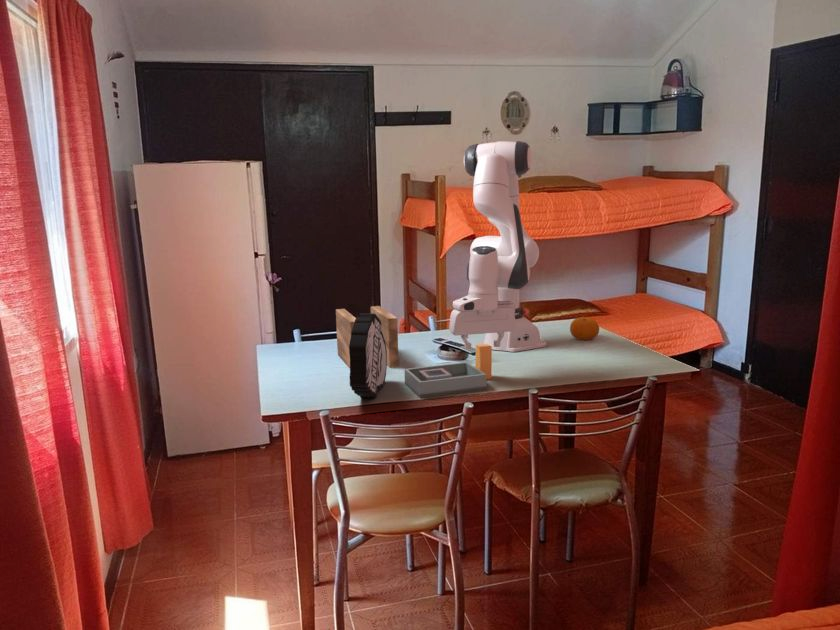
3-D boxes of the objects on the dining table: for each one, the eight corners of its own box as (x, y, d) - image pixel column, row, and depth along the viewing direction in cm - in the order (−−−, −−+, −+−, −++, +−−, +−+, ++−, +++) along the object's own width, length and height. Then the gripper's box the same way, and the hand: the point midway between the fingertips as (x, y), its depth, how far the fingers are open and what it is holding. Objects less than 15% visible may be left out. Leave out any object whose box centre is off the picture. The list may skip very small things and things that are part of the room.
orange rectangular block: (486, 375, 205) (486, 343, 203) (491, 378, 201) (491, 346, 199) (475, 376, 203) (475, 344, 201) (480, 379, 200) (480, 347, 198)
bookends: (380, 350, 236) (378, 305, 233) (398, 366, 215) (397, 318, 212) (337, 354, 231) (335, 309, 228) (352, 371, 211) (350, 322, 207)
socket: (442, 379, 198) (442, 368, 197) (451, 386, 191) (451, 374, 190) (418, 382, 195) (418, 370, 195) (427, 389, 189) (427, 377, 188)
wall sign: (384, 404, 197) (362, 387, 169) (370, 403, 198) (345, 387, 169) (388, 331, 203) (368, 303, 175) (375, 331, 204) (352, 303, 175)
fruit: (569, 342, 243) (570, 320, 242) (569, 335, 253) (570, 314, 252) (599, 343, 241) (600, 321, 239) (598, 336, 251) (599, 315, 249)
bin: (467, 376, 204) (467, 361, 203) (486, 389, 191) (486, 374, 190) (404, 383, 198) (404, 369, 197) (420, 398, 185) (419, 382, 184)
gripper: (510, 298, 204) (509, 342, 206) (447, 302, 197) (447, 347, 200) (519, 301, 198) (518, 347, 200) (455, 305, 191) (455, 352, 194)
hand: (482, 347), depth 200 cm, fingers open, 8 cm apart
